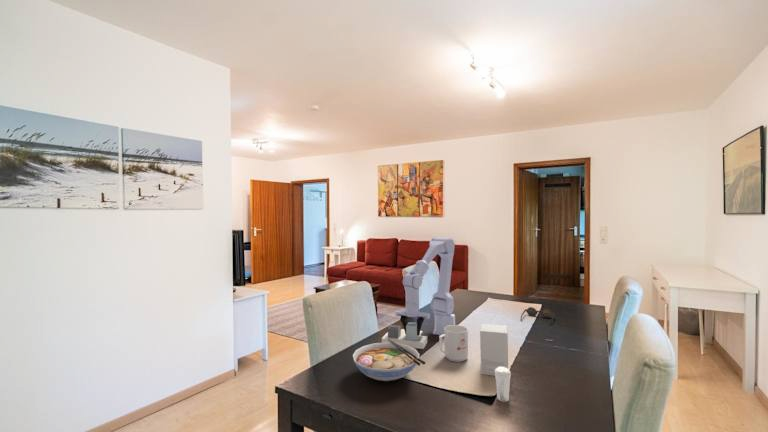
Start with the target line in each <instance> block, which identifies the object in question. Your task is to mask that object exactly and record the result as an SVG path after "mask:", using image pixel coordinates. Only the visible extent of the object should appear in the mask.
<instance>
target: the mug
mask: <svg viewBox="0 0 768 432" xmlns="http://www.w3.org/2000/svg"><path fill="white" fill-rule="evenodd" d="M443 337H444V340H443ZM438 339H439V342H438V343H439V350H440V352H441V353H443V354H444V356H445V358H446V359H447V360H449V361H450V362H455V363H458V362H464V361H466V360H467V359H468V357H469V329H468V327H466V326H463V325H460V324H459V325H458V324H455V325H449V326H446V327H445V328H444V334H442V335H438ZM443 341H444V344H443ZM443 345H444V346H443ZM443 347H444V348H443ZM443 349H444V350H443Z"/></svg>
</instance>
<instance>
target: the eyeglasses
mask: <svg viewBox="0 0 768 432" xmlns="http://www.w3.org/2000/svg"><path fill="white" fill-rule="evenodd" d="M525 312H526V313H527V315H528V316H532V317H533V316H534V317H536V316H538V313H540V315H541V316H542V318H548V319H551V320H550V323H549V325H548V327H550V326H551V325H552V323H553V319H554V317H555V316H556V315H555V312H552V310H550V309H547V308H546V309H543V310H542V311H541V310H537V309H536V308H535V307H531V306H529V307H528V308H527V309H524V311H523V312H522V313H521V314H520V315H521V316H520V321H521V322H523V320H522V318H523V315H524V314H525Z"/></svg>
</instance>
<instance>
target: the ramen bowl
mask: <svg viewBox="0 0 768 432" xmlns="http://www.w3.org/2000/svg"><path fill="white" fill-rule="evenodd" d="M387 340H388V339H387ZM389 340H390V339H389ZM389 340H388V341H389ZM390 342H391V340H390ZM392 342H393V341H392ZM392 342H391V343H388V342H384V343H382V342H375V343H370V344H366V345H363V346H361V347H359V348H356V349H355V351H353V354H352V358H353V362H354V364H355V365H356V367H357V369H358V370H359V371H360V372H361V373H362V374H363V375H365V376H366V377H367V378H368V377H369V378H370V379H373V380H377V381H382V382H390V381H396V380H399V379H401V378H403V377H405V376H407V375H408V374H410V373H411V372H412V371H413V370H414V368H415V367H416V365H417V366H421V364H422V365H424V366H425V365H426V362H425V361H424V360H423V359H420V353H419V352H418V349H417V348H412V347H410V346H408V345H404V344H399V343H394V342H393V343H392Z"/></svg>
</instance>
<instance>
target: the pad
mask: <svg viewBox="0 0 768 432" xmlns="http://www.w3.org/2000/svg"><path fill="white" fill-rule="evenodd" d="M401 334H405V330H404V328H401ZM422 334H423V330H420V336H422Z"/></svg>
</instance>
